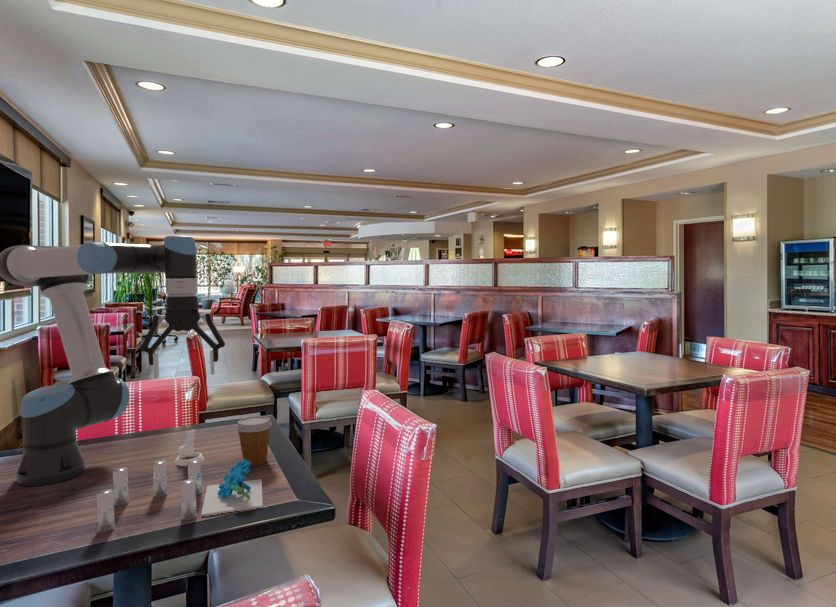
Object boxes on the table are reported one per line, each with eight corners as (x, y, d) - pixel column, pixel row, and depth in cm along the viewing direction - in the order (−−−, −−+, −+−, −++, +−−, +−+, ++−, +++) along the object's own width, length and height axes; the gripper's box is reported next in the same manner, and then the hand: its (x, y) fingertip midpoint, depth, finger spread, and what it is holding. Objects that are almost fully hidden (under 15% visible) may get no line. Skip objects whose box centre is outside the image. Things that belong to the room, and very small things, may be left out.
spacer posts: (96, 533, 106) (94, 496, 106) (118, 497, 123) (116, 465, 123) (195, 519, 112) (194, 483, 112) (203, 487, 129) (202, 456, 129)
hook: (190, 453, 139) (174, 437, 141) (183, 480, 145) (168, 464, 147) (213, 440, 145) (197, 424, 147) (206, 466, 151) (190, 450, 153)
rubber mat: (201, 516, 113) (201, 514, 113) (207, 488, 129) (207, 485, 129) (262, 508, 117) (262, 505, 117) (261, 481, 133) (261, 479, 133)
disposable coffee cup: (244, 455, 151) (243, 415, 151) (276, 455, 151) (275, 415, 150) (232, 468, 142) (230, 425, 141) (266, 468, 141) (265, 425, 141)
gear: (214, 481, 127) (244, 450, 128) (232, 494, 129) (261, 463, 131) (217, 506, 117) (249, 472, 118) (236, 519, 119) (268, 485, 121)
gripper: (125, 297, 127) (128, 382, 128) (232, 294, 135) (234, 375, 136) (131, 295, 134) (135, 376, 136) (233, 293, 142) (235, 370, 143)
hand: (185, 375), depth 136 cm, fingers open, 13 cm apart
